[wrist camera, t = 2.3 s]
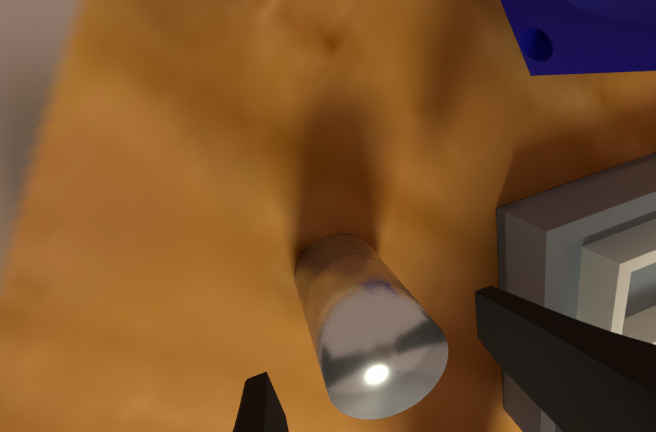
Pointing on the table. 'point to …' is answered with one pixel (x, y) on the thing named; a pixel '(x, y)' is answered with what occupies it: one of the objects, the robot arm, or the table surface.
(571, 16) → the blue cradle block
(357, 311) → the metal peg
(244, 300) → the table surface
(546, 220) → the walled tray
